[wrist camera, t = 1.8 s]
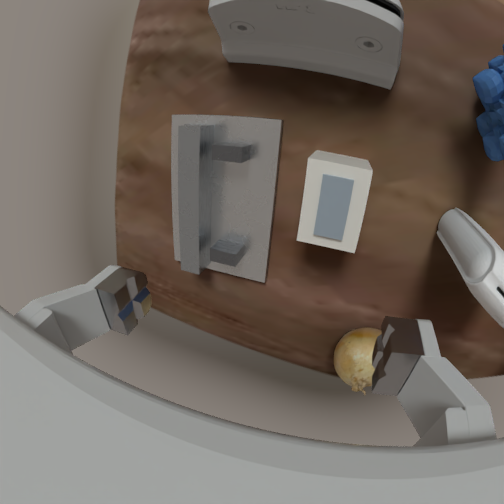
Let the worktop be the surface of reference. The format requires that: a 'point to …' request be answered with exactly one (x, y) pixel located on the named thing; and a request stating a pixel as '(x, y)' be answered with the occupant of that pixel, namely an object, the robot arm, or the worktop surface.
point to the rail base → (224, 192)
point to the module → (334, 200)
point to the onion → (356, 357)
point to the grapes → (492, 107)
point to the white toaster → (314, 35)
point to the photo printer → (475, 259)
